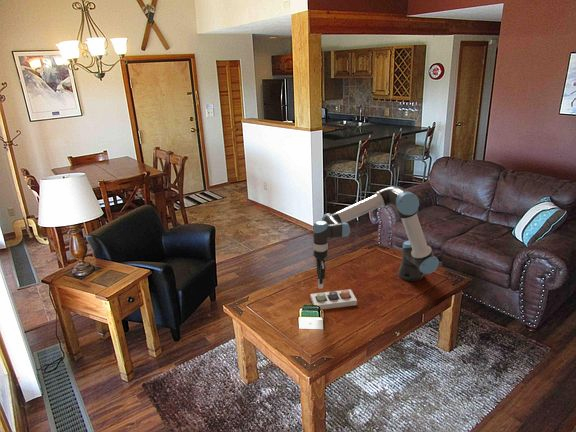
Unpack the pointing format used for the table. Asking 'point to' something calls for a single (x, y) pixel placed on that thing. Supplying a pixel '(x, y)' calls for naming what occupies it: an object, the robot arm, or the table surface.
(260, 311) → the table surface
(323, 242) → the robot arm
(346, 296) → the button terracotta
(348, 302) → the board
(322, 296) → the button sage
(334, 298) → the button charcoal
